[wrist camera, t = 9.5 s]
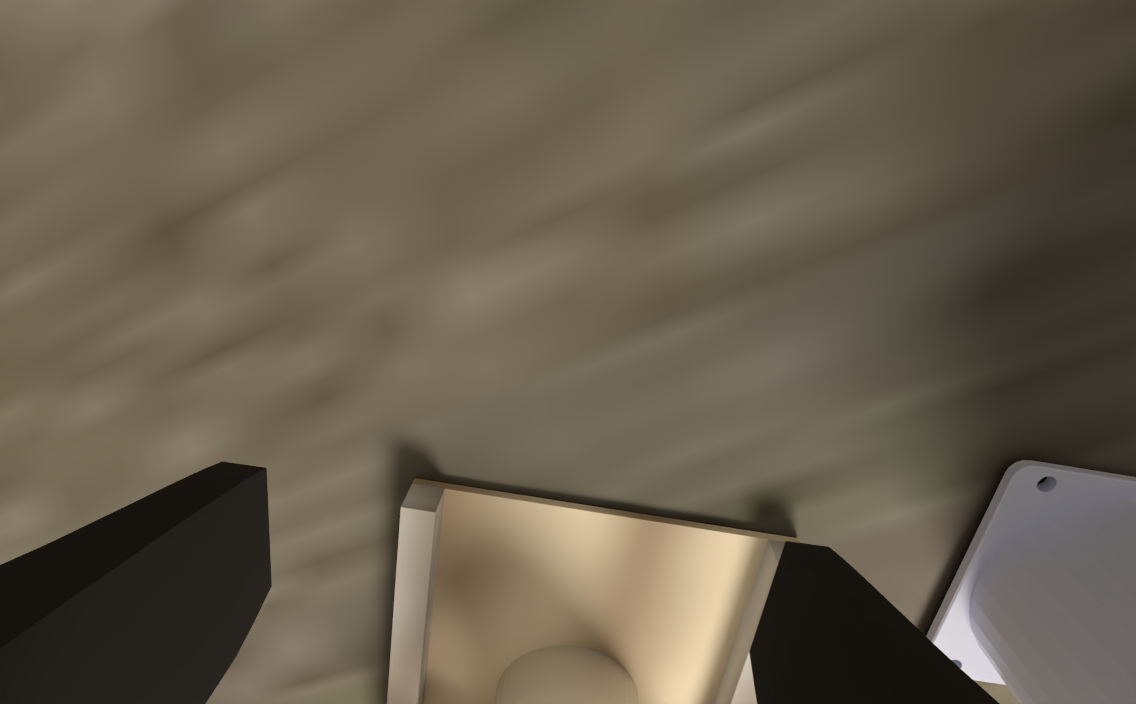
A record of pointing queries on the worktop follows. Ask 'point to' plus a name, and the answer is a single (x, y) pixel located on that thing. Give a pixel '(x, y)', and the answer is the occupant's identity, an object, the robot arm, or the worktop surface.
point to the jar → (565, 678)
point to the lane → (571, 595)
